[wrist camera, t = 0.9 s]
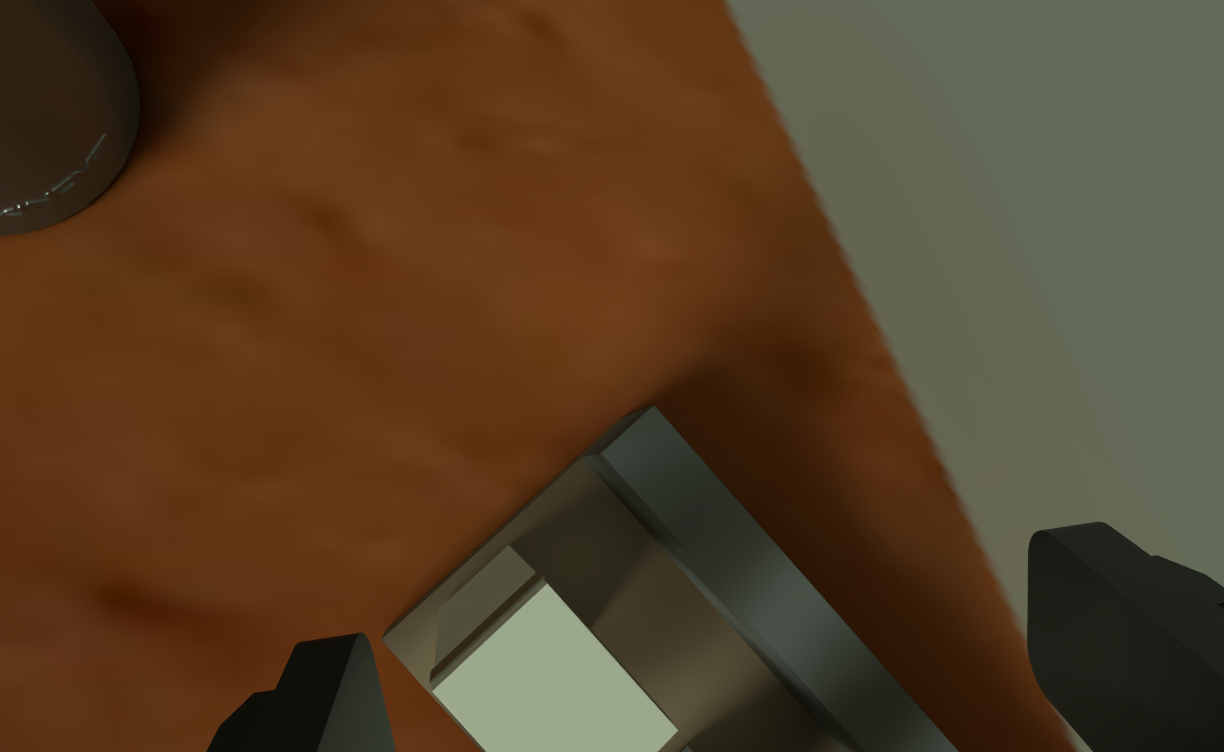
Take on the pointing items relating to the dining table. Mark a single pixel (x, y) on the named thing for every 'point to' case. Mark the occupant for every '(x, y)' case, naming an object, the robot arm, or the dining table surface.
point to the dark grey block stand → (690, 606)
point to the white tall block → (536, 671)
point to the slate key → (687, 749)
